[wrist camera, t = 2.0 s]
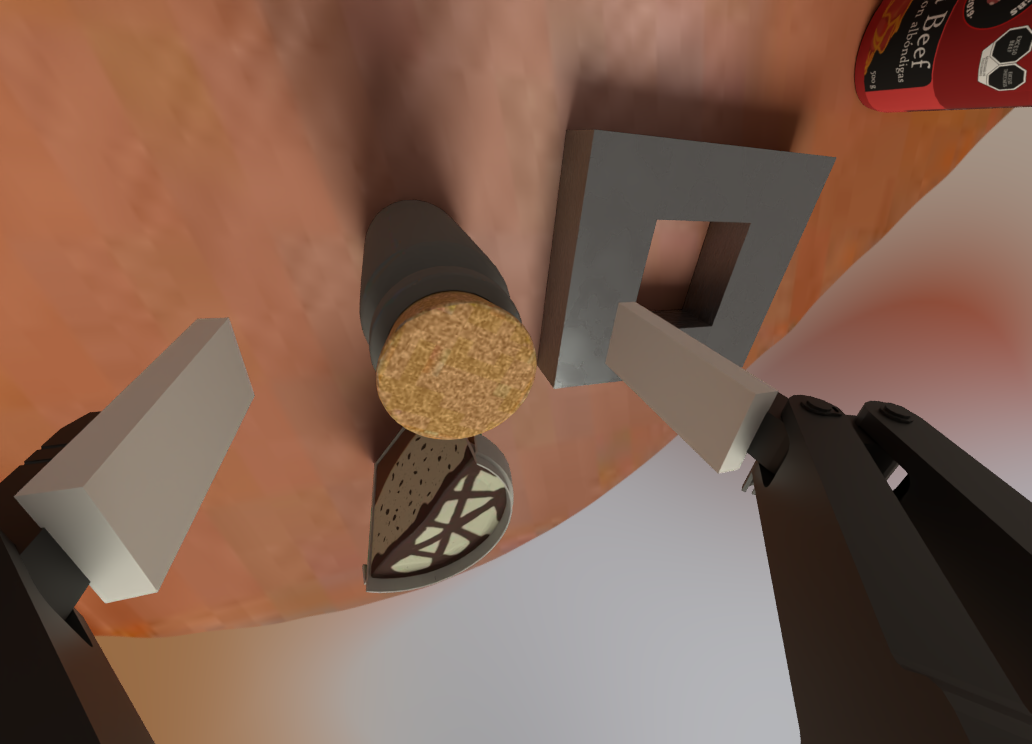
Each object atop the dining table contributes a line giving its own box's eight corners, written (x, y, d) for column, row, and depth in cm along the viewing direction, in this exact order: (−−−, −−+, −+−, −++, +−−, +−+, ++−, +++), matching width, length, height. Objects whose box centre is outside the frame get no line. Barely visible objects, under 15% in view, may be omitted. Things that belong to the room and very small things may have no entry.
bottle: (418, 313, 25) (460, 479, 13) (342, 249, 22) (302, 393, 10) (481, 251, 24) (589, 367, 12) (412, 174, 21) (465, 229, 9)
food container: (428, 495, 34) (445, 606, 26) (364, 476, 31) (361, 597, 23) (512, 396, 31) (560, 487, 23) (451, 363, 28) (483, 456, 20)
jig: (566, 130, 22) (594, 129, 19) (789, 155, 27) (836, 157, 25) (537, 365, 30) (553, 388, 27) (713, 348, 36) (742, 366, 33)
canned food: (910, -63, 22) (1259, -192, 14) (968, 1, 26) (1281, -70, 17) (829, 88, 26) (1066, 64, 17) (888, 128, 29) (1114, 125, 20)
